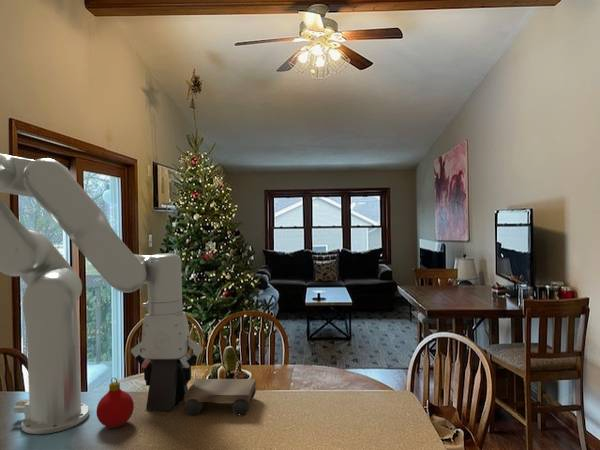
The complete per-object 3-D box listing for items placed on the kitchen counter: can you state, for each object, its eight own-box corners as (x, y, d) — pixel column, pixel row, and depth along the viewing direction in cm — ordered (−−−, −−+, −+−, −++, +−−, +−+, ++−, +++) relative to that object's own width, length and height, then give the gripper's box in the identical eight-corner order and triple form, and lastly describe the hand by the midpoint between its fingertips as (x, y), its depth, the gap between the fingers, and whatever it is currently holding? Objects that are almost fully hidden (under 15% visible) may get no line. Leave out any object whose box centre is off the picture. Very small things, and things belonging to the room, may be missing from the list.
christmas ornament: (89, 430, 88) (87, 381, 88) (117, 415, 95) (115, 369, 94) (114, 436, 85) (112, 386, 85) (141, 421, 92) (140, 374, 91)
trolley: (184, 415, 94) (184, 394, 93) (197, 397, 103) (196, 378, 102) (249, 415, 93) (248, 395, 93) (255, 397, 102) (255, 379, 102)
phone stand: (170, 412, 95) (169, 358, 95) (145, 410, 97) (144, 356, 96) (189, 395, 104) (187, 345, 104) (166, 393, 105) (164, 344, 105)
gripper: (120, 311, 97) (123, 390, 97) (198, 310, 96) (200, 389, 96) (135, 304, 104) (138, 377, 105) (207, 303, 103) (209, 377, 104)
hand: (168, 382), depth 100 cm, fingers open, 7 cm apart
